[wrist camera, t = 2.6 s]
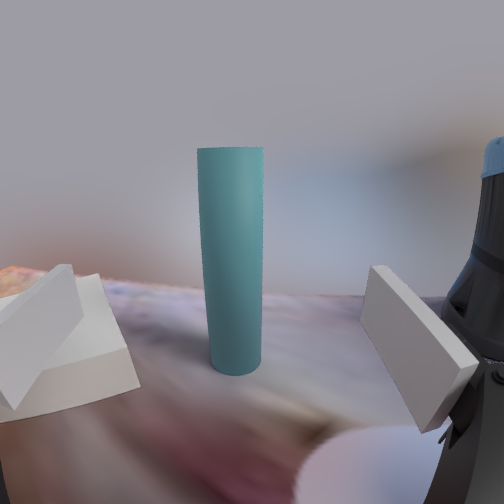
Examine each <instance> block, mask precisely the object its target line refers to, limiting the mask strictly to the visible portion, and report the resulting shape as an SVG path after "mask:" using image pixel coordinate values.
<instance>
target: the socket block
mask: <svg viewBox="0 0 504 504" xmlns="http://www.w3.org/2000/svg"><path fill="white" fill-rule="evenodd" d="M75 283H76V287H77V291H78V295H79V298H80V302H81V306H82V309H83V313H84V318H83V319H82V320H81V321H80V322H79V324H78V325H77V326H76V327H75V329H74V330H73V331H72V332H71V334H70V335H69V336H68V337H67V339H66V340H65V341H64V342H63V344H62V345H61V346H60V348H59V349H58V350H57V352H56V353H55V354H54V356H53V357H52V358H51V360H50V361H49V362H48V364H47V365H46V366H45V368H44V369H43V370H42V372H41V373H40V375H39V376H38V377H37V379H36V380H35V382H34V383H33V384H32V386H31V387H30V389H29V390H28V392H27V393H26V395H25V396H24V398H23V399H22V401H21V402H20V404H19V405H18V407H17V408H16V410H15V411H13V410H11V409H9V408H7V407H5V406H3V405H2V404H1V403H0V423H3V422H9V421H14V420H20V419H25V418H30V417H34V416H39V415H44V414H48V413H52V412H56V411H61V410H65V409H69V408H72V407H76V406H80V405H84V404H87V403H91V402H94V401H98V400H101V399H105V398H108V397H111V396H115V395H118V394H121V393H124V392H127V391H130V390H133V389H137V388H140V387H141V386H140V383H139V381H138V378H137V375H136V372H135V369H134V366H133V363H132V360H131V357H130V354H129V350H128V347H127V345H126V343H125V340H124V338H123V336H122V333H121V331H120V329H119V326H118V324H117V322H116V319H115V317H114V314H113V312H112V309H111V307H110V304H109V302H108V299H107V296H106V294H105V291H104V288H103V285H102V282H101V280H100V277H99V274H94V275H90V276H86V277H81V278H77V279H75ZM22 293H23V292H22ZM20 294H21V293H18V294H14V295H11V296H7V297H3V298H0V311H1V310H3V309H4V308H5V307H6V306H7V305H8V304H10V303H11V302H12V301H13V300H14V299H15V298H17V297H18V296H19V295H20Z"/></svg>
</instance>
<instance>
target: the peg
mask: <svg viewBox="0 0 504 504" xmlns="http://www.w3.org/2000/svg"><path fill="white" fill-rule="evenodd" d="M197 160H198V192H199V213H200V233H201V249H202V264H203V278H204V290H205V302H206V313H207V323H208V333H209V342H210V351H211V360H212V364H213V366H214V367H215V369H216V370H218V371H219V372H221V373H223V374H226V375H232V376H239V375H245V374H248V373H250V372H252V371H254V370H255V369H256V368H257V367H258V366H259V364H260V362H261V324H262V259H263V255H262V253H263V147H219V148H199V149H197Z"/></svg>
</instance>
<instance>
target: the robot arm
mask: <svg viewBox="0 0 504 504" xmlns="http://www.w3.org/2000/svg"><path fill="white" fill-rule="evenodd" d="M481 179H482V189H481V198H480V206H479V212H478V218H477V224H476V230H475V235H474V240H473V245H472V250H471V254H470V257H469V259H468V261H467V263H466V265H465V266H464V268H463V270H462V271H461V273H460V275H459V277H458V278H457V280H456V281H455V283H454V284H453V286H452V288H451V289H450V291H449V292H448V294H447V297H446V300H445V303H444V306H443V309H442V318H443V319H442V318H439V317H438V316H437V315H436V314H435V313H434V312H433V311H432V310H431V309H430V308H429V307H428V306H427V305H426V304H425V303H424V302H423V301H422V300H421V299H420V298H419V297H418V296H417V295H416V294H415V293H414V292H413V291H412V290H411V289H410V288H409V287H408V286H407V285H406V284H405V283H404V282H403V281H402V280H401V279H400V278H399V277H398V276H397V275H396V274H395V273H394V272H392V271H391V270H390V269H389V268H388V267H387V266H386V265H371V266H370V271H369V276H368V282H367V287H366V293H365V298H364V303H363V307H362V312H361V317H360V322H361V324H362V326H363V327H364V329H365V331H366V333H367V334H368V336H369V338H370V339H371V341H372V343H373V345H374V346H375V348H376V350H377V352H378V353H379V355H380V357H381V359H382V360H383V362H384V364H385V366H386V368H387V369H388V371H389V373H390V375H391V377H392V378H393V380H394V382H395V384H396V386H397V388H398V389H399V391H400V393H401V395H402V397H403V399H404V401H405V403H406V405H407V407H408V408H409V410H410V412H411V414H412V416H413V418H414V420H415V422H416V424H417V426H418V428H419V430H420V432H421V434H422V433H425V432H428V431H431V430H434V429H437V428H439V427H441V425H442V424H443V422H444V421H445V419H446V418H447V417H448V415H449V417H450V418H451V420H452V423H451V425H450V426H449V427H448V429H447V430H446V432H445V433H444V434H443V435H442V437H441V438H440V440H439V442H438V443H439V444H441V442H442V441H443V440H444V439H445V438H446V440H445V443H444V447H443V450H442V454H441V457H440V460H439V463H438V466H437V469H436V472H435V475H434V478H433V481H432V483H431V486H430V489H429V491H428V494H427V496H426V499H425V501H424V503H423V504H504V365H503V364H499V363H493V364H490V365H489V364H488V363H487V362H486V361H485V359H484V358H483V357H482V356H481V355H483V356H486V357H489V358H492V359H496V360H501V361H504V137H498V138H495V139H492V140H491V141H489V143H488V144H487V146H486V148H485V155H484V165H483V173H482V174H481ZM83 318H84V313H83V309H82V306H81V302H80V298H79V295H78V291H77V287H76V283H75V278H74V274H73V269H72V265H71V264H59V265H57V266H56V267H55V268H53V269H52V270H51V271H49V272H48V273H47V274H45V275H44V276H43V277H41V278H40V279H39V280H38V281H36V282H35V283H34V284H33V285H31V286H30V287H29V288H28V289H26V290H25V291H24V292H23V293H21V294H20V295H19V296H18V297H17V298H15V299H14V300H13V301H12V302H11V303H10V304H8V305H7V306H6V307H5V308H4V309H3V310H1V311H0V403H1V404H2V405H3V406H5V407H7V408H9V409H11V410H13V411H15V410H16V408H17V407H18V405H19V404H20V402H21V401H22V399H23V398H24V396H25V395H26V393H27V392H28V390H29V389H30V387H31V386H32V384H33V383H34V382H35V380H36V379H37V377H38V376H39V375H40V373H41V372H42V370H43V369H44V368H45V366H46V365H47V364H48V362H49V361H50V360H51V358H52V357H53V356H54V354H55V353H56V352H57V350H58V349H59V348H60V346H61V345H62V344H63V342H64V341H65V340H66V339H67V337H68V336H69V335H70V334H71V332H72V331H73V330H74V329H75V327H76V326H77V325H78V324H79V322H80V321H81V320H82V319H83ZM480 354H481V355H480ZM0 504H10V501H9V498H8V494H7V490H6V486H5V481H4V477H3V472H2V466H1V461H0Z"/></svg>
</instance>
